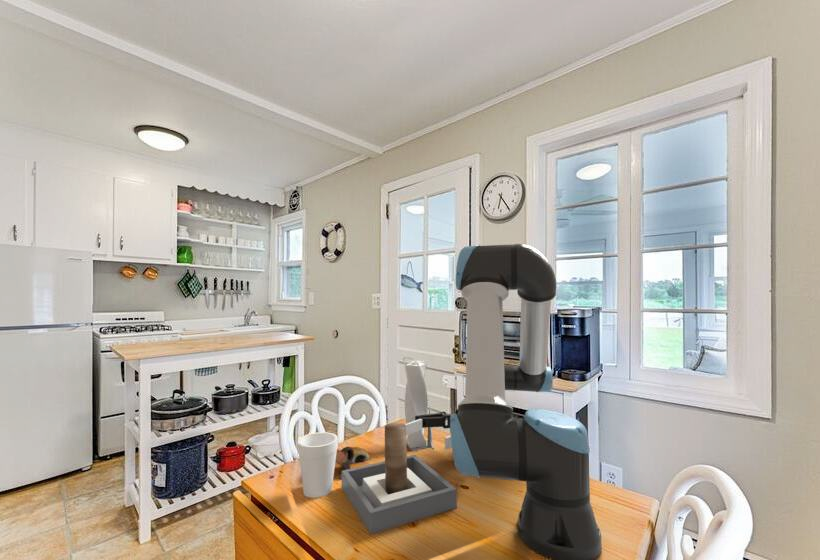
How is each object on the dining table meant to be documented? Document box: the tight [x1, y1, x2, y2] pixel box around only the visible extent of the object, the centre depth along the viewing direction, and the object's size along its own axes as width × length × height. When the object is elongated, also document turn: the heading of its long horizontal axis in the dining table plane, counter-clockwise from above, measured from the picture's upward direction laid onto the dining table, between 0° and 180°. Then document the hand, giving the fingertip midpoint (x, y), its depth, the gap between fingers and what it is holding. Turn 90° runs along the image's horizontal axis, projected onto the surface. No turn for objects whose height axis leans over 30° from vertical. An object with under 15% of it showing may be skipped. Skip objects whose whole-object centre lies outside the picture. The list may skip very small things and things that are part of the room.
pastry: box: [346, 446, 371, 466], centre depth 109 cm, size 9×7×4 cm
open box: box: [341, 454, 458, 535], centre depth 86 cm, size 20×20×5 cm
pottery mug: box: [335, 446, 354, 481], centre depth 100 cm, size 12×10×8 cm
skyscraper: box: [402, 356, 435, 452], centre depth 118 cm, size 8×8×28 cm
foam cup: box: [297, 431, 339, 499], centre depth 90 cm, size 10×9×13 cm
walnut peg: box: [384, 422, 408, 495], centre depth 86 cm, size 5×5×16 cm
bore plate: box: [363, 468, 432, 508], centre depth 86 cm, size 12×12×3 cm
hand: (424, 436), depth 94 cm, fingers open, 13 cm apart
